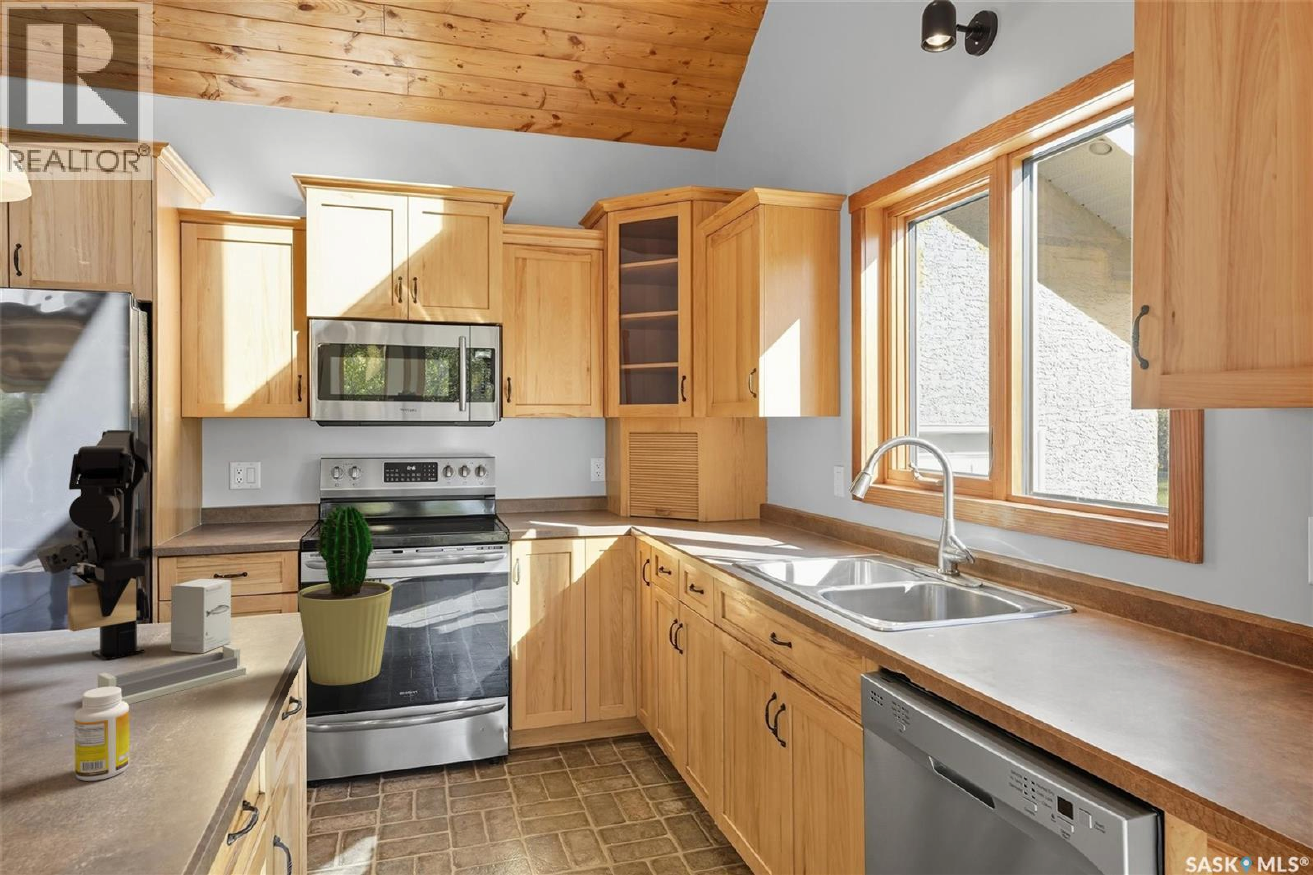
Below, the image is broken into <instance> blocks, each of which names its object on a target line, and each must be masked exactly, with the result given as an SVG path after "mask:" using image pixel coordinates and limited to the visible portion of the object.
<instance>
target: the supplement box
mask: <svg viewBox="0 0 1313 875" xmlns="http://www.w3.org/2000/svg"><path fill="white" fill-rule="evenodd" d="M170 589H171V591H170V592H171V593H170V594H171V595H170V596H171V597H170V651H171V652H179V653H180V652H182V653H189V654H191V653H192V654H205V653H207V652H209V651H211V650H214V649H218V648H220V647H223V646H224V645H230V643H231V639H232V638H231V637H232V636H231V632H232V629H231V628H232V627H231V625H232V624H231V623H232V622H231V620H232V579H222V578H220V579H218V578H217V579H216V578H197V579H194V580H190V581H185V582H181V583H176V584H173V585H171V588H170Z"/></svg>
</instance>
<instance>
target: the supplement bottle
mask: <svg viewBox="0 0 1313 875" xmlns="http://www.w3.org/2000/svg"><path fill="white" fill-rule="evenodd" d="M81 704H82V706H81V708H79V709H78V710H77V711H76V712H75V714H74V769H75V770H74V772H75V777H76V778H77V779H79V780H81V781H87V782H89V781H90V782H92V781H93V782H94V781H100V780H101V781H102V780H105V779H109V778H113V777H114V776H115V777H116V776H117V775H120V774H122V773H123V772H124V771H126V769H128V768H129V765H130V760H131V759H130V706H129V705H130V704H127V703H126V702H124V701H122V695H121V688H119V687H113V686H112V687H101V688H98V687H96V688H92V689H89V690H87V691H85V692H84V693H83V694H82V702H81Z"/></svg>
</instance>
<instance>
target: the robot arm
mask: <svg viewBox="0 0 1313 875" xmlns="http://www.w3.org/2000/svg"><path fill="white" fill-rule="evenodd" d="M151 458H152V457H151V452H150V447H149V445H148V444H146V443H145V442H143V441H142V440H140V439H139V438H138V437H137V434H136V431H133V430H131V429H108V430H105V431H102V435H101V439H100V440H99V441H98V442H97V444H96V445H85V446H81V447H80V448H79V449H78V451H77V453H74V454H73V457H72V463H71V469H70V470H71V471H70V478H69V484H68V490H70V491H72V490H73V491H74V490H80V495H79V496H77V497H76V498H75V499H74V500H73V501H72V502H71V504H70V506H69V510H68V515H69V518H70V520H71V522H72V523H73V524H74V525H76V526H77V527H78V528H76V530H75V531H74V538H71V539H70V540H66V541H64V542H60V543H59V544H56V545H54V546H50V547H48V548H45V549H43V550H41V551H39V552H38V553H36V556H37V558H38V560H39V562H40V564H41V566H42V568H43V570H44V572H46V573H47V572H49V573H50V574H52V575H53V574H54V575H55V574H58V573H61V572H64V571H67V570H71V568H72V567H76V571H74V572H72V573H71V572H70V573H71V575H72V576H73V577H75V578H77V579H78V580H80V581H81V582H83V584H89V583H93V584H94V585H96V586H97V590H98V596H99V602H100V608H101V613H102V616H103V617H107V616H110V615H111V614H112V612H113V610H114V608H115V606H116V604H117V603H118V601H119V599H120V597H121V595H122V593H123V591H124V590H125V588H126V586H127V585H128V583H129V582H130V580H131V578H133V579H136V620H135V621H129V622H124V623H118V624H113V625H107V626H102V627H99V649H96V650H92V651H91V654H92V655H95V656H97V657H99V658H101V659H103V660H112V659H116V658H120V657H125V656H129V655H135V654H139V653H144V652H146V649H145V648H144V647H141V646H139V645H138V621H142V622H143V621H144V620H147V619H149V618H151V617H150V614H151V613H150V611H151V609H150V599H149V595H148V594H147V593H146V591H145V588H144V587H142V581H141V579H140V578H141V577H145V576H147V575H148V563H147V562H146V561H145V560H143V559H142V558H138V557H134V540H135V524H136V523H135V520H136V506H137V505H136V504H137V502H136V501H137V495H138V494H139V492H140V491H141V490H142V489H143V488H144V486H145V485H146V484H147V477H148V476H147V475H148V474H150V473H151V468H152V459H151ZM139 577H140V578H139ZM138 611H139V612H138Z"/></svg>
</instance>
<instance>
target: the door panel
mask: <svg viewBox="0 0 1313 875" xmlns="http://www.w3.org/2000/svg"><path fill="white" fill-rule="evenodd" d="M135 620H136V579H133V578H131V580H130V582H129V583H128V585H127V586H126V588H125V590H124V591H123V593H122V595H121V597H120V599H119V601H118V603H117V604H116V606H115V608H114V610H113V612H112V614H111V615H110V616H107V617H103V616H102V613H101V608H100V602H99V596H98V590H97V586H96V585H94V584H93V583H89V584H85V583H83V584H77V585H76V584H75V585H70V586H67V630H69V631H71V632H79V631H84V630H85V631H86V630H90V629H95V628H96V629H97V628H100V627H102V626H107V625H113V624H118V623H124V622H129V621H135Z"/></svg>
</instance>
